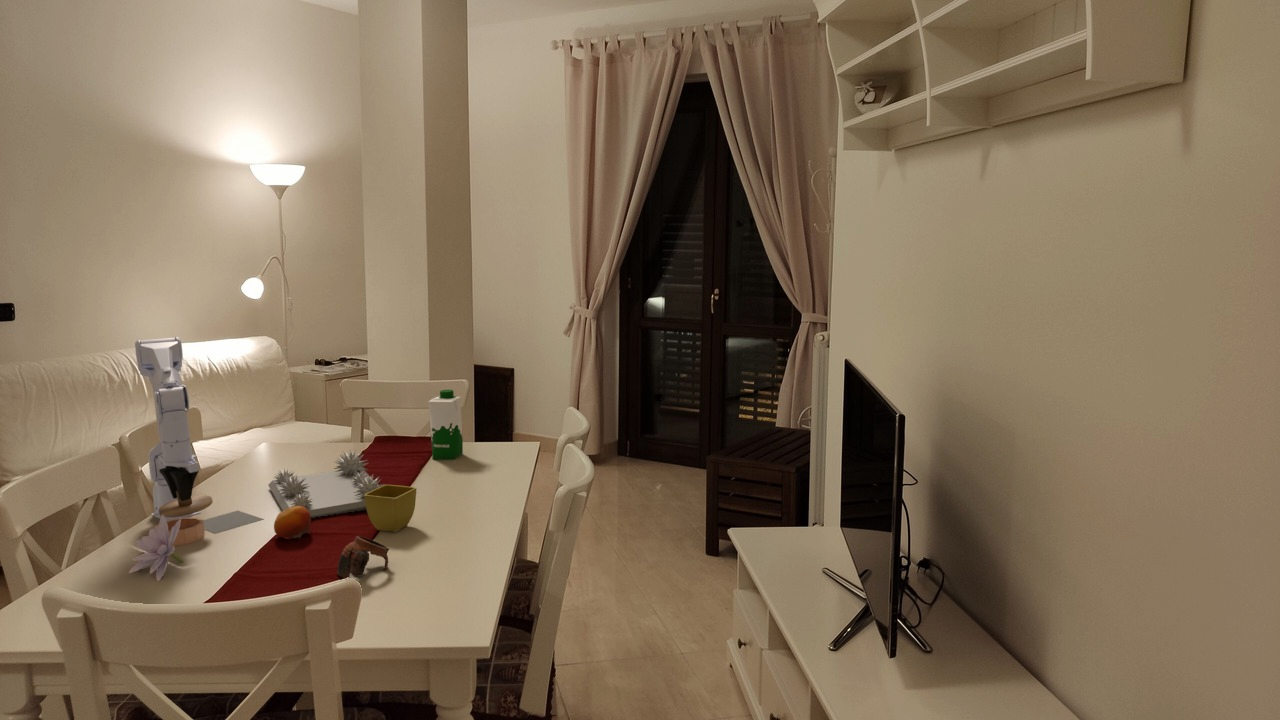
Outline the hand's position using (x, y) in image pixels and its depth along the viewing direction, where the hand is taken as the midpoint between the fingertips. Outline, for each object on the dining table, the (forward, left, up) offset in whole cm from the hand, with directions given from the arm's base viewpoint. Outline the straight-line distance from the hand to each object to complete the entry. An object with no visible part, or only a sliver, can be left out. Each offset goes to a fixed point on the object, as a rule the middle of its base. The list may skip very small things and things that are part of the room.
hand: (182, 498), depth 201 cm
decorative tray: (+1, +37, -10) cm, 38 cm away
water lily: (+15, -13, -10) cm, 22 cm away
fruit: (+20, +15, -10) cm, 27 cm away
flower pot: (+35, +31, -10) cm, 48 cm away
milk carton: (-5, +82, -10) cm, 82 cm away
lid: (0, +1, -2) cm, 2 cm away
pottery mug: (+52, +10, -10) cm, 54 cm away
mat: (-2, +11, -9) cm, 14 cm away
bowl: (0, -1, -9) cm, 9 cm away
